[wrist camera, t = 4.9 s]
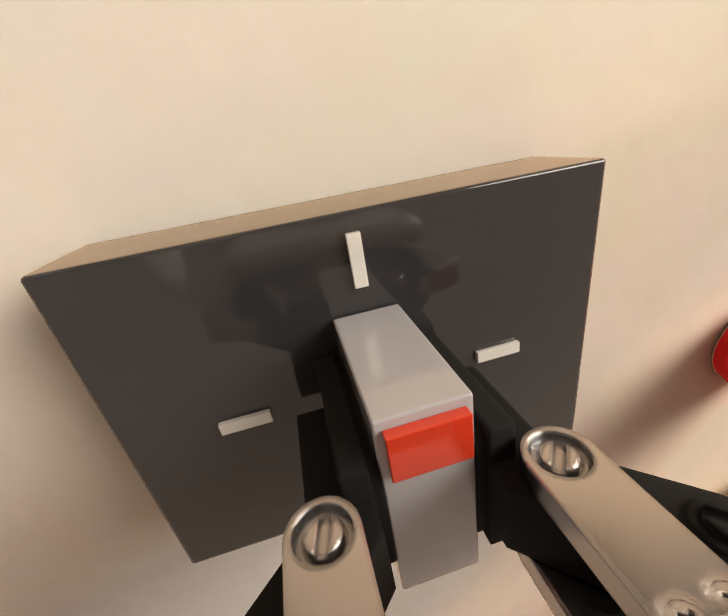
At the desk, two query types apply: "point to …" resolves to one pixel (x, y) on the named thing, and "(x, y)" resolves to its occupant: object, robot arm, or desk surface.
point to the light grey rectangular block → (415, 440)
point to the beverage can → (721, 355)
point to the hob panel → (317, 323)
